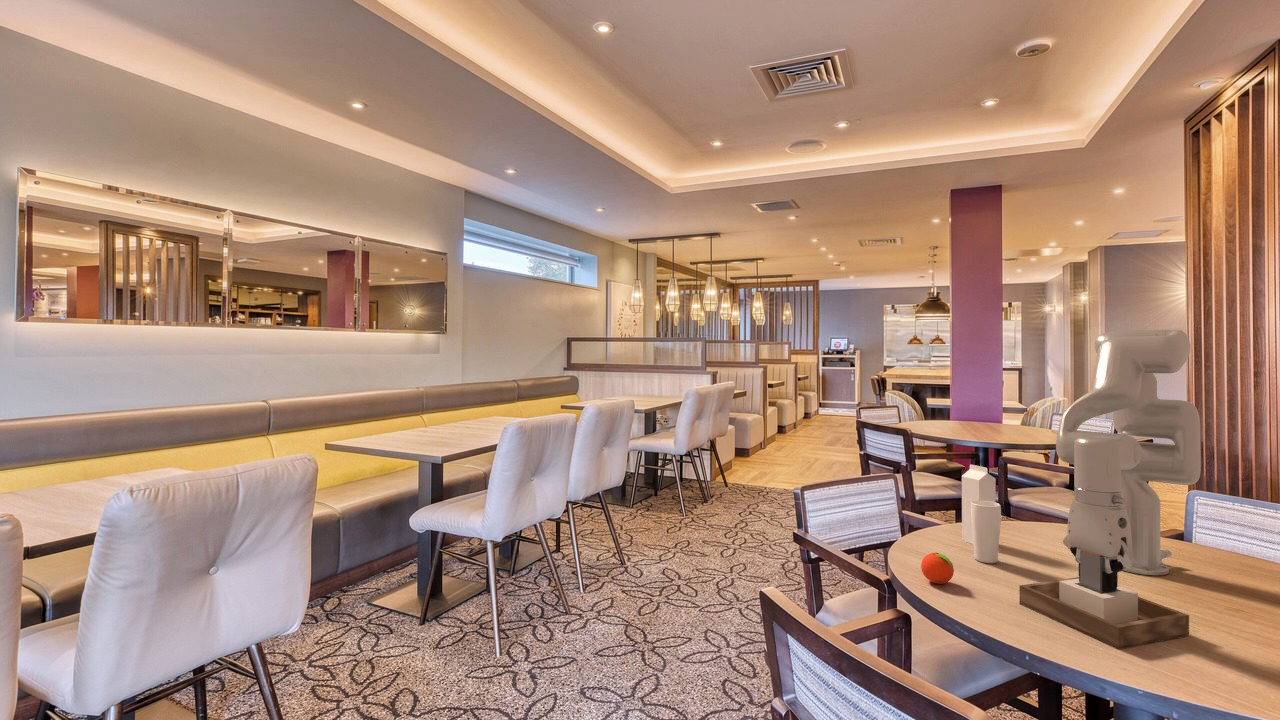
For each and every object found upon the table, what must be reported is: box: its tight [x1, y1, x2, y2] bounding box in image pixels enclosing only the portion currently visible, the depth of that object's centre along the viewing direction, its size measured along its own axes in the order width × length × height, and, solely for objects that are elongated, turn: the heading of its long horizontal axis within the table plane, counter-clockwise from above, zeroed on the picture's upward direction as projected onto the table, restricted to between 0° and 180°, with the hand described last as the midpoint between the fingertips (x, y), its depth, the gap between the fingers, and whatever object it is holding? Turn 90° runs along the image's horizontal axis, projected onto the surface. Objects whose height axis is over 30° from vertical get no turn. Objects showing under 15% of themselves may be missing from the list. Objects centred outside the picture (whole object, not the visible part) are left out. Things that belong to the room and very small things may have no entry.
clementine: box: [920, 552, 955, 585], centre depth 135 cm, size 8×7×7 cm
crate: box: [1018, 576, 1190, 650], centre depth 116 cm, size 18×20×4 cm
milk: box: [961, 464, 997, 545], centre depth 164 cm, size 6×6×22 cm
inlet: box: [1059, 579, 1139, 624], centre depth 118 cm, size 9×9×5 cm
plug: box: [1080, 550, 1115, 594], centre depth 118 cm, size 4×4×11 cm
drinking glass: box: [971, 500, 1002, 564], centre depth 150 cm, size 7×7×15 cm
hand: (1097, 585), depth 118 cm, fingers closed on plug, 3 cm apart
